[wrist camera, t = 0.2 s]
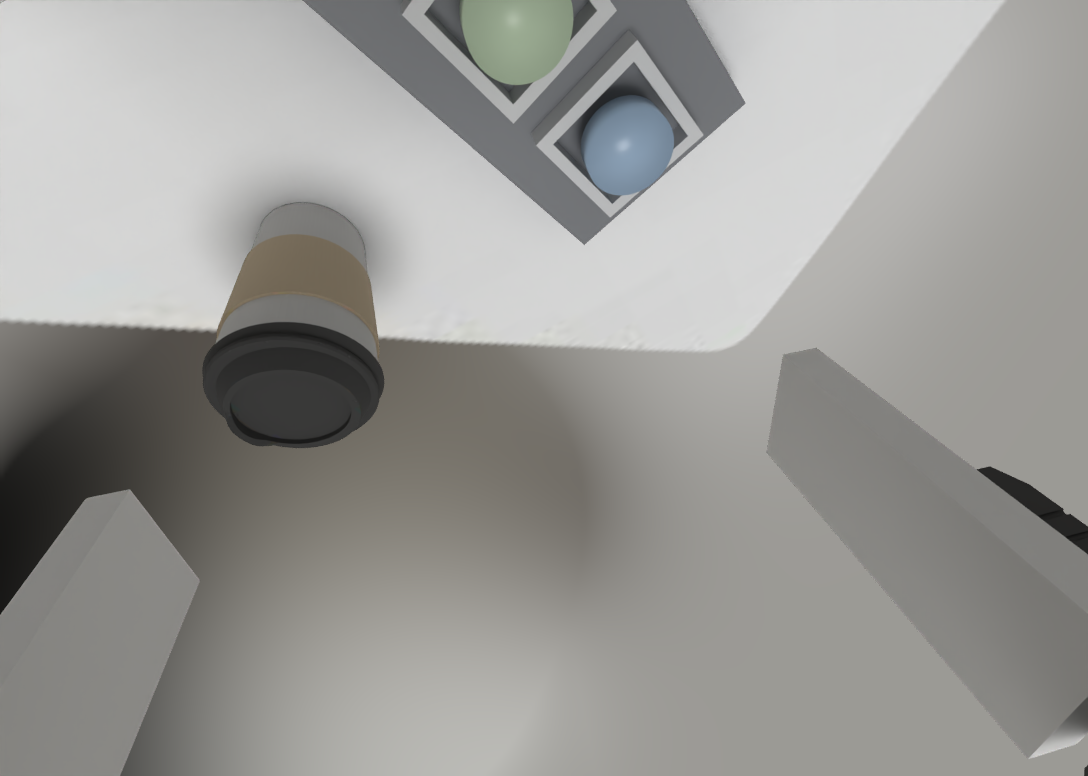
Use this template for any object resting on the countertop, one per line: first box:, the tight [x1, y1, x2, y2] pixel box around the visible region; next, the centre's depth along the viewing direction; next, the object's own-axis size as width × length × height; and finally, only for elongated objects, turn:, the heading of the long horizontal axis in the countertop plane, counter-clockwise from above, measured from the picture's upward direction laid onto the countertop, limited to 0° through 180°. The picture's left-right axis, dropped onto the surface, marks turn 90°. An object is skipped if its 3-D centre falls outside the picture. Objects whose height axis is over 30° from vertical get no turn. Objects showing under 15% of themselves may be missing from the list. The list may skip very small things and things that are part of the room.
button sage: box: [459, 0, 573, 85], centre depth 24 cm, size 5×5×2 cm
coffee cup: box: [203, 203, 384, 448], centre depth 32 cm, size 9×9×15 cm
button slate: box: [581, 95, 674, 195], centre depth 30 cm, size 5×5×2 cm
